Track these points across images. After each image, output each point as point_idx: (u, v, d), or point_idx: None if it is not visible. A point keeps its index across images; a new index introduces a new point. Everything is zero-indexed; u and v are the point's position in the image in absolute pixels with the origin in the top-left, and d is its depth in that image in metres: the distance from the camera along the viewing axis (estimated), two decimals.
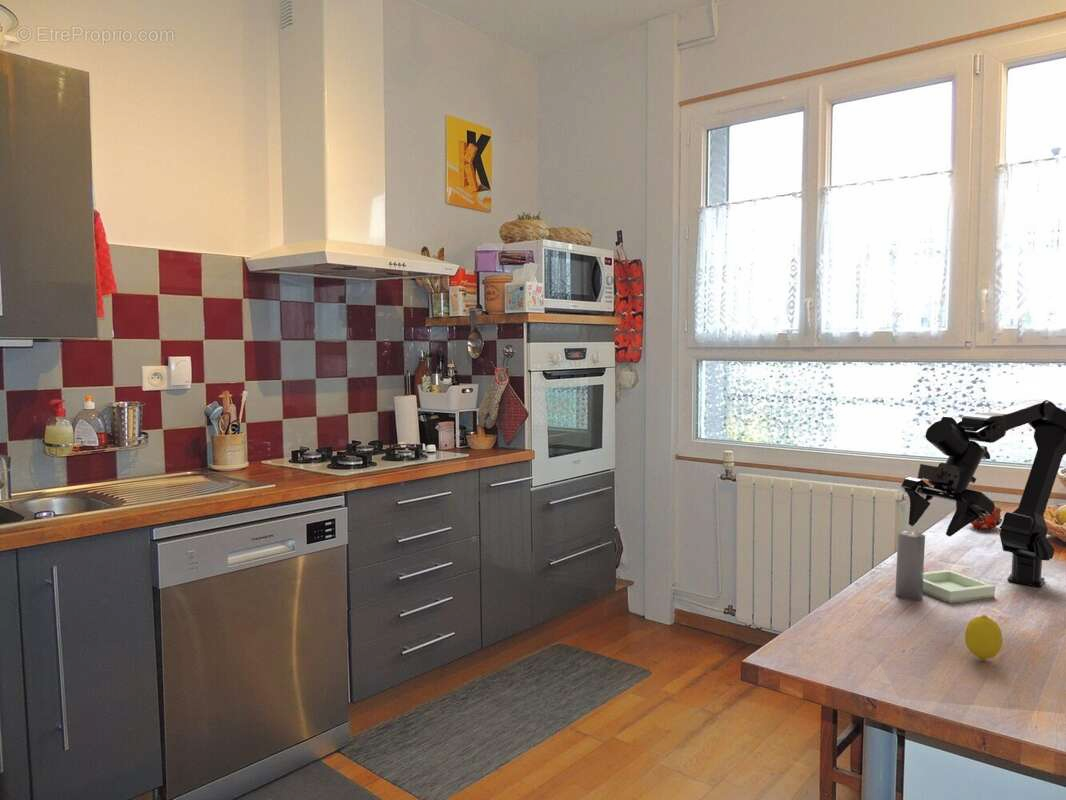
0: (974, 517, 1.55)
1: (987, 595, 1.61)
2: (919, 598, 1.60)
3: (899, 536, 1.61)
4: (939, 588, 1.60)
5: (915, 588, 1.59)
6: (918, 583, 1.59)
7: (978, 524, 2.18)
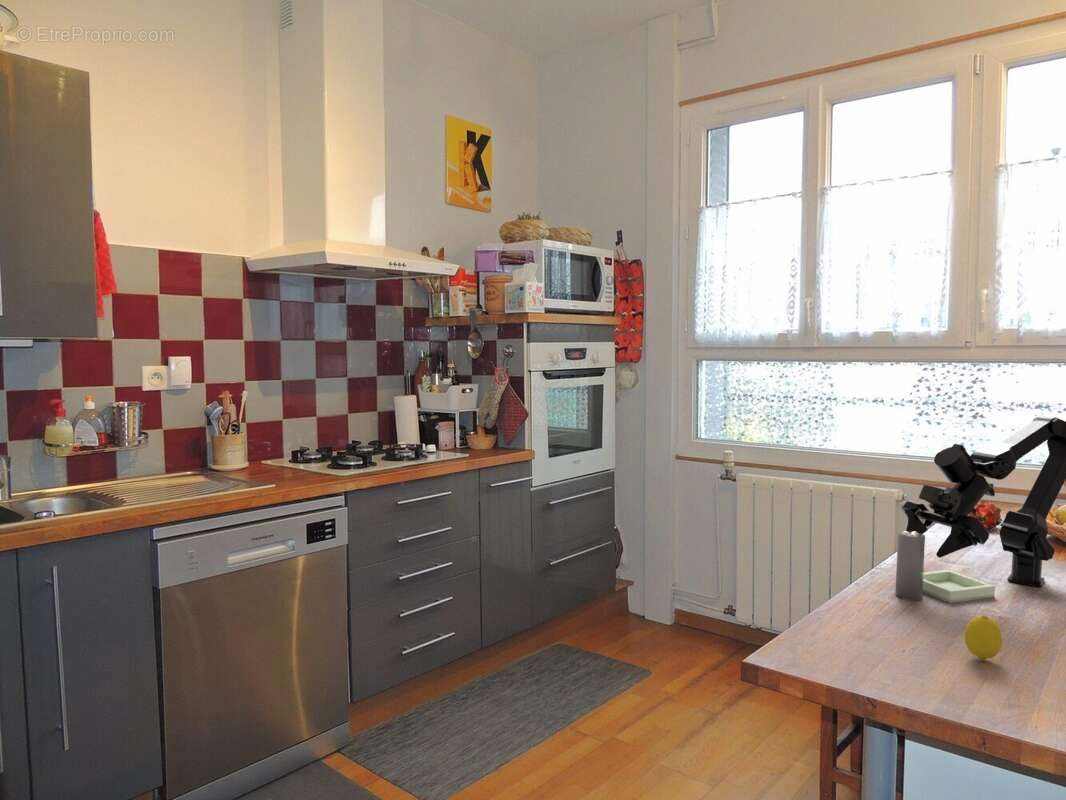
0: (967, 544, 1.57)
1: (987, 595, 1.61)
2: (919, 598, 1.60)
3: (899, 536, 1.61)
4: (939, 588, 1.60)
5: (915, 588, 1.59)
6: (918, 583, 1.59)
7: None
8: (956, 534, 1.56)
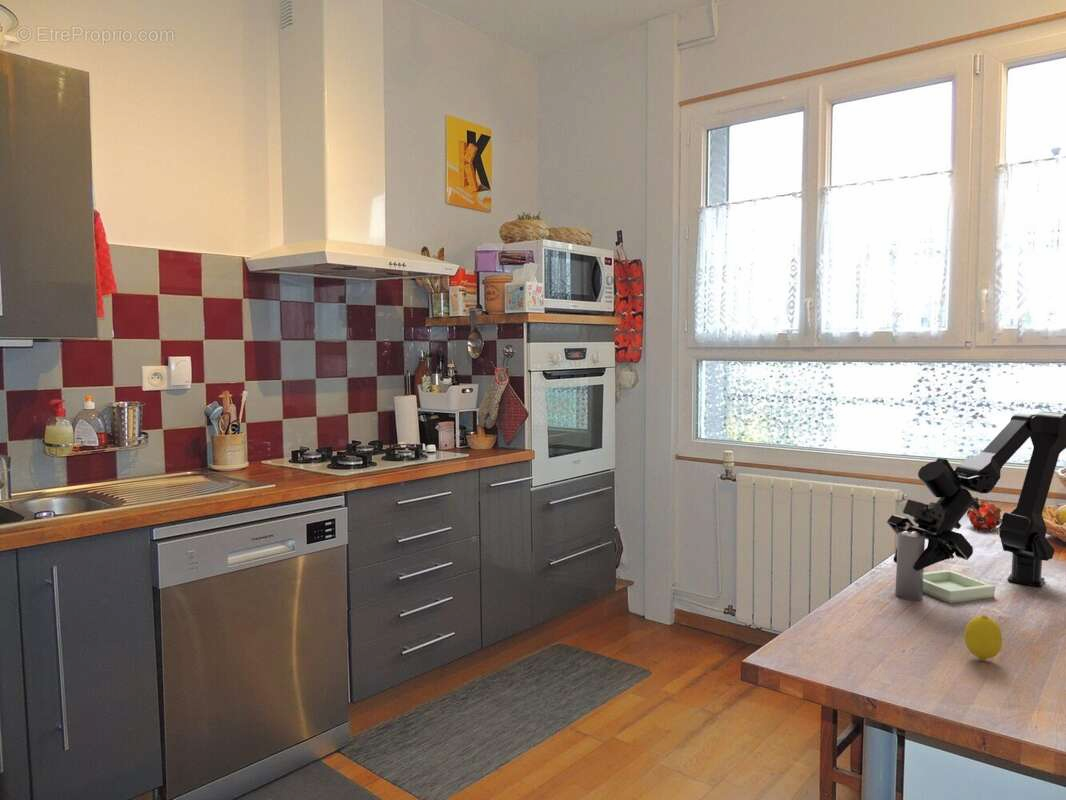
0: (944, 557, 1.58)
1: (987, 595, 1.61)
2: (919, 598, 1.60)
3: (899, 536, 1.61)
4: (939, 588, 1.60)
5: (915, 588, 1.59)
6: (918, 583, 1.59)
7: (978, 524, 2.18)
8: (933, 547, 1.57)
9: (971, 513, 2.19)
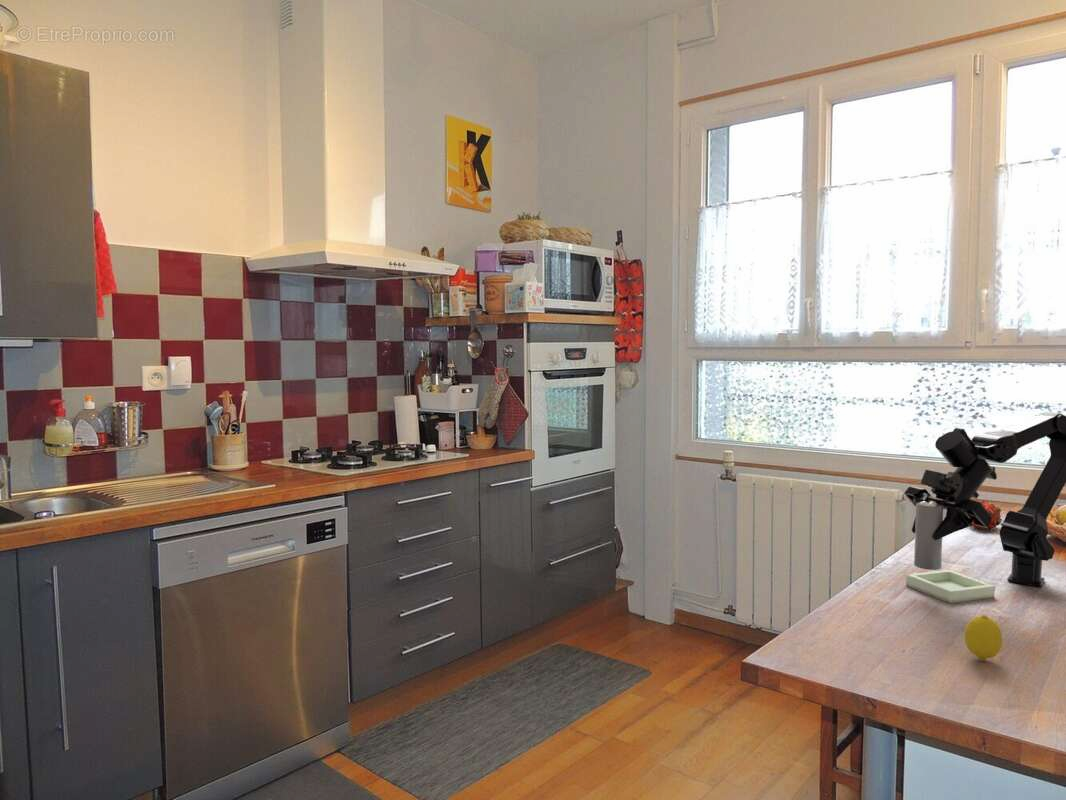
0: (963, 526, 1.59)
1: (987, 595, 1.61)
2: (938, 567, 1.60)
3: (917, 506, 1.62)
4: (939, 588, 1.60)
5: (934, 557, 1.60)
6: (937, 552, 1.60)
7: None
8: (951, 516, 1.58)
9: None
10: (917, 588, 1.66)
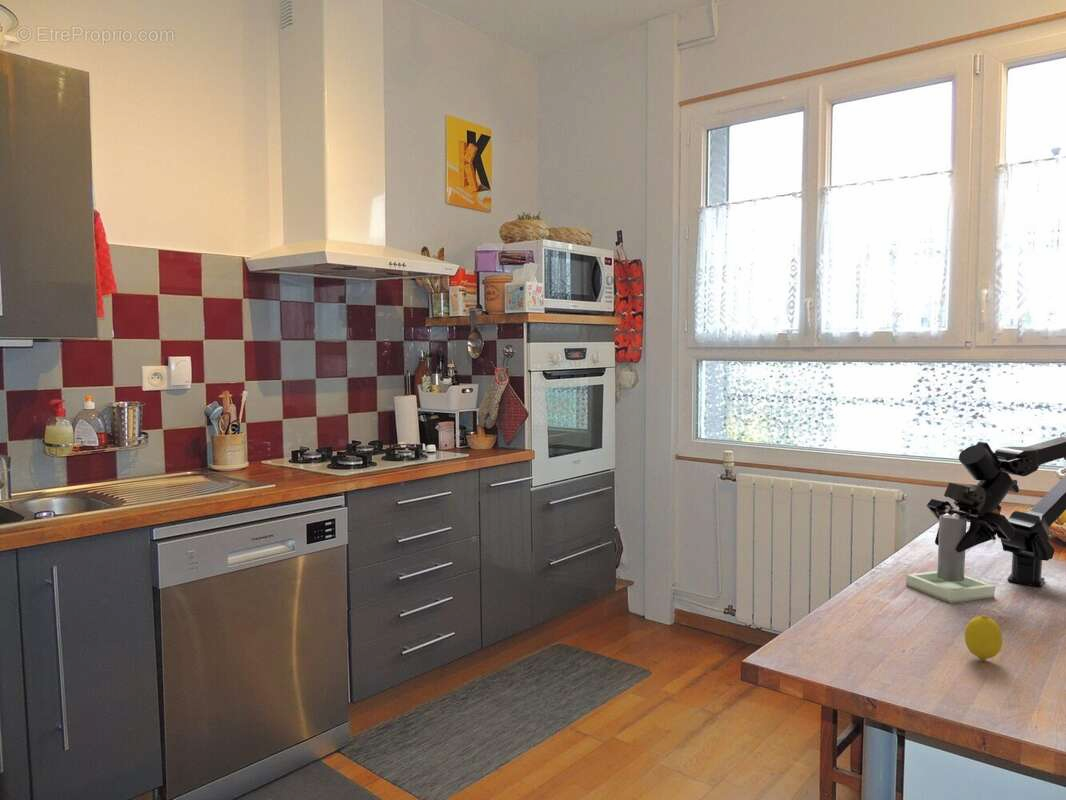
0: (986, 538, 1.61)
1: (987, 595, 1.61)
2: (961, 579, 1.63)
3: (941, 518, 1.64)
4: (939, 588, 1.60)
5: (958, 569, 1.62)
6: (960, 564, 1.62)
7: None
8: (975, 529, 1.60)
9: None
10: (917, 588, 1.66)
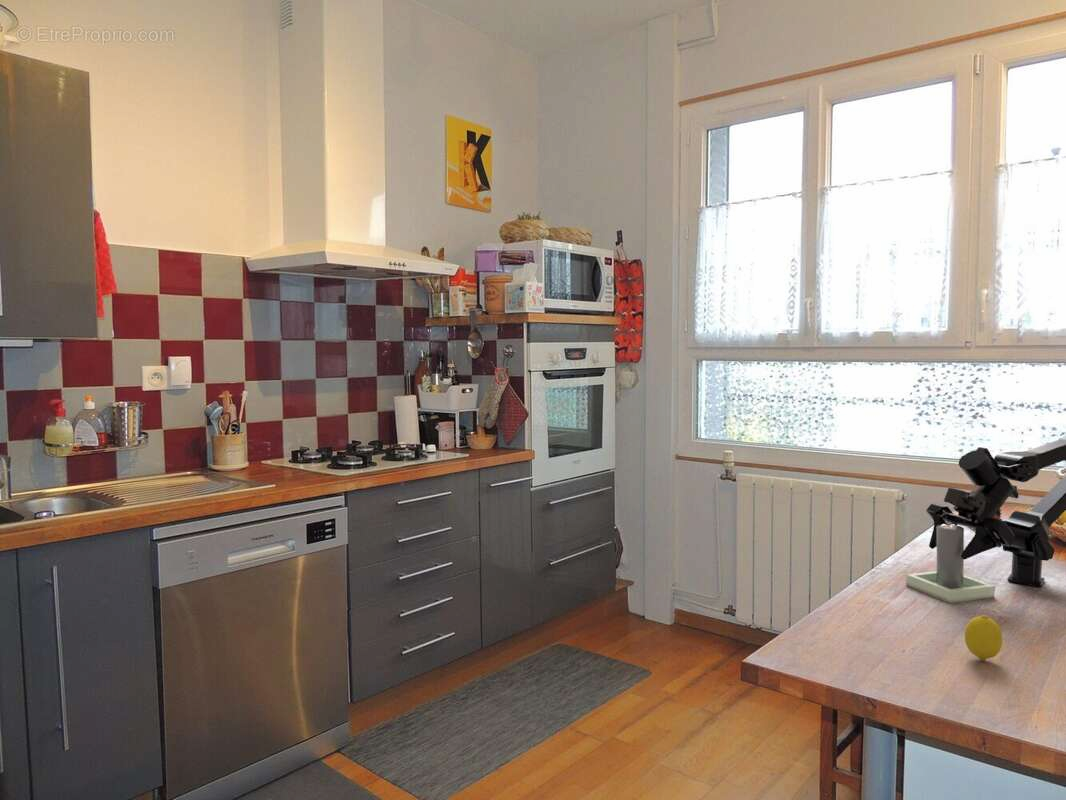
0: (991, 546, 1.60)
1: (987, 595, 1.61)
2: None
3: (938, 529, 1.64)
4: (939, 588, 1.60)
5: (956, 579, 1.62)
6: (959, 575, 1.62)
7: None
8: (980, 536, 1.59)
9: None
10: (917, 588, 1.66)
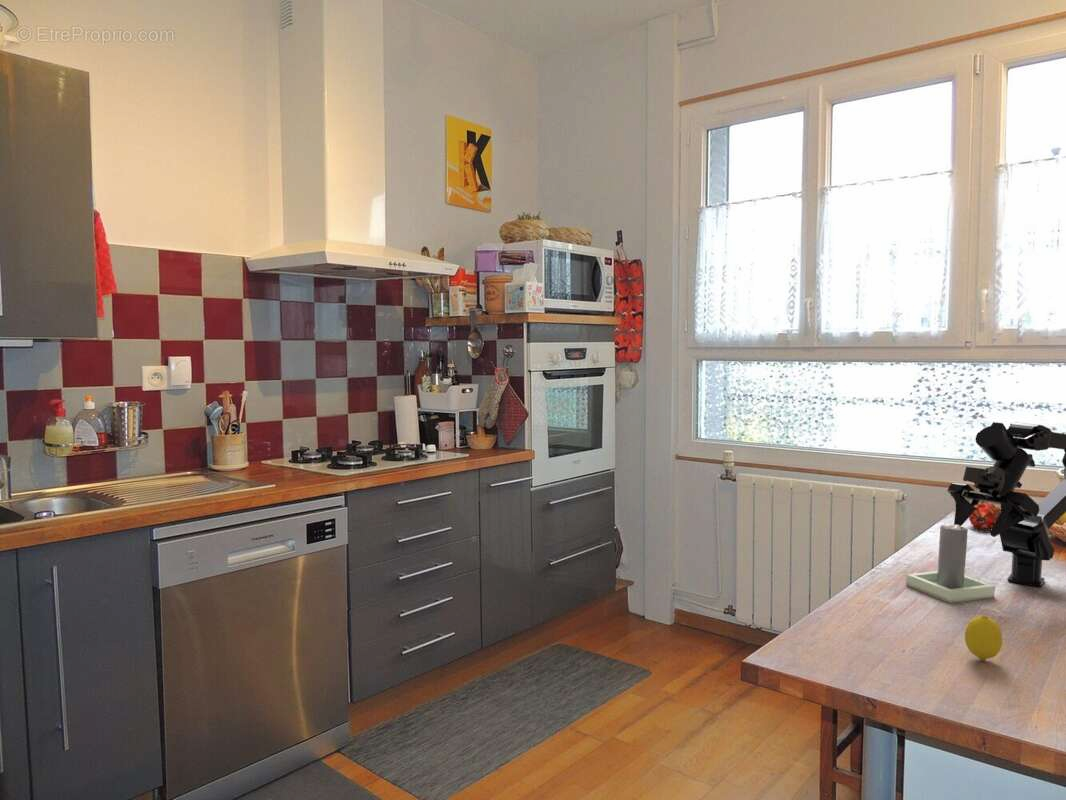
0: (1019, 519, 1.59)
1: (987, 595, 1.61)
2: None
3: (942, 529, 1.64)
4: (939, 588, 1.60)
5: (957, 580, 1.62)
6: (960, 575, 1.62)
7: (978, 524, 2.18)
8: (1007, 512, 1.58)
9: None
10: (917, 588, 1.66)
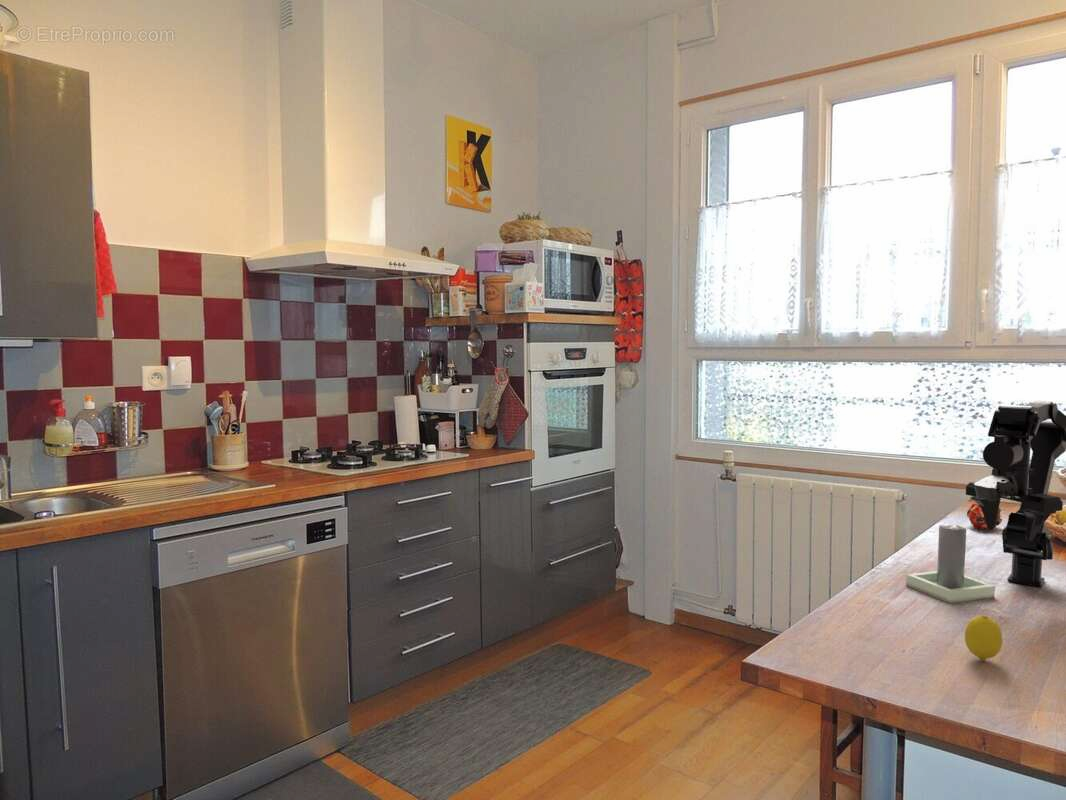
0: (1047, 514, 1.56)
1: (987, 595, 1.61)
2: None
3: (941, 529, 1.64)
4: (939, 588, 1.60)
5: (957, 580, 1.62)
6: (960, 575, 1.62)
7: (978, 524, 2.18)
8: (1033, 518, 1.55)
9: (971, 513, 2.19)
10: (917, 588, 1.66)
